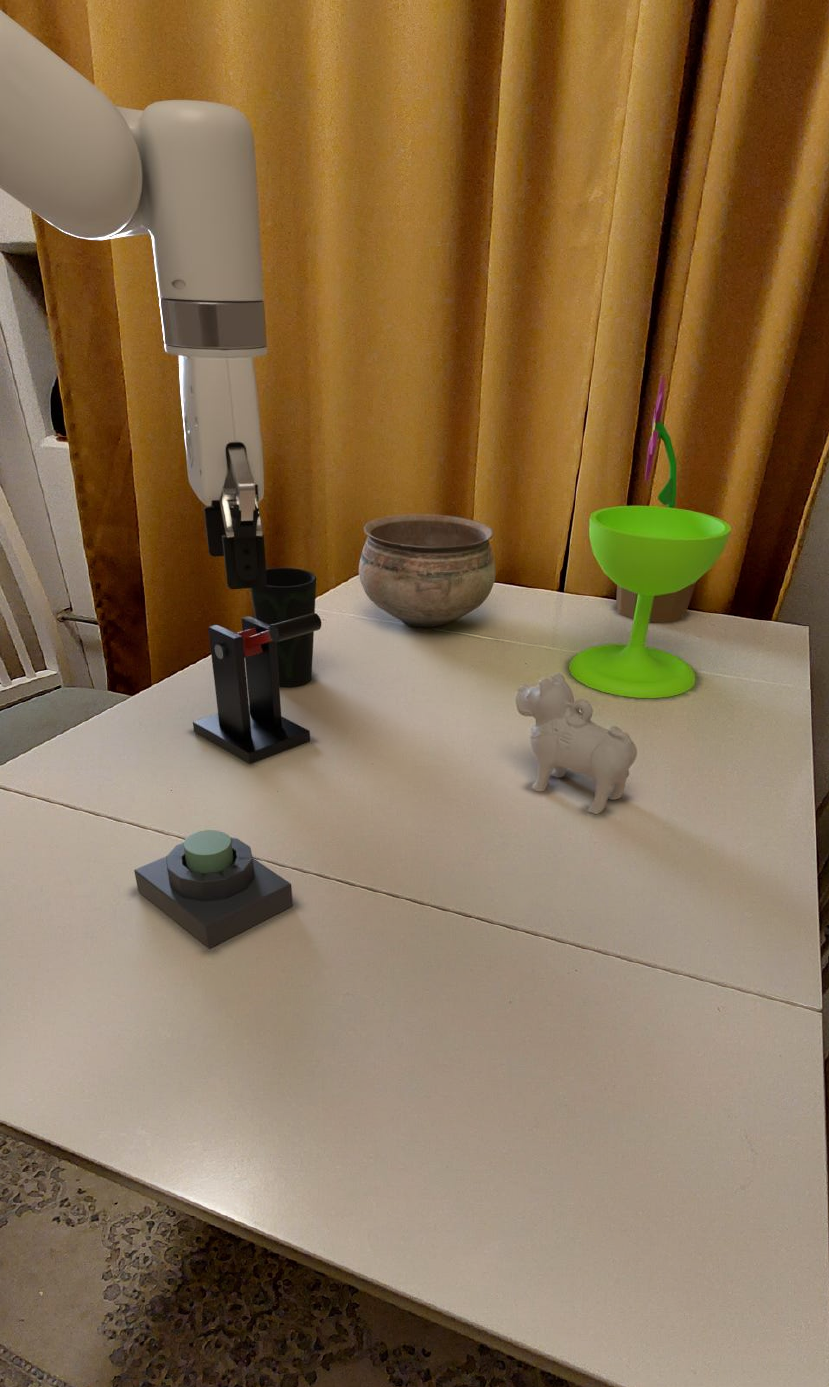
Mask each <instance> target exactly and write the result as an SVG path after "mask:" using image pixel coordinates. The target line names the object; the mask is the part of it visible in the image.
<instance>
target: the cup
mask: <svg viewBox="0 0 829 1387" xmlns="http://www.w3.org/2000/svg"><path fill="white" fill-rule="evenodd" d="M266 574H267V584H266V586H265V587H259V588H249V590H250V596H251V602H252V607H253V611H254V612H253V614H254V619H257V620H259V621H261V622H264V623H266V624H268V625H272V624H276V623H279V622H283V621H287V620H290V619H294V618H298V617H301V616H305V615H309V614H312V613H316V596H317V595H316V594H317V593H316V592H317V576H316V574H314V573H313V572H311V571H310V570H306V569H302V568H295V567H271V568H270V567H269V568H266ZM314 633H315V631H313V632H310V633H307V634H303V635H300V636H296V637H293V638H289V639H286V640H282V641H279V642H276V644H277V659H278V674H279V688H297V687H301V686H304V685H307V684H309V683H310V682H311V681H312V678H313V677H312V676H313V657H314V656H313V655H314V636H315V634H314Z"/></svg>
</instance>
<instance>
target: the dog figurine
mask: <svg viewBox="0 0 829 1387" xmlns="http://www.w3.org/2000/svg"><path fill="white" fill-rule="evenodd" d="M550 677H551V680H550V678H548V677H542V678H540V680H538V685H535V686H529V685H526V684H525V685H520V686H518V688H517V689H516V694H515V705H516V710H517V712H518V713H519V715H521V716H523V717H530V718H531V717H532V718H534V719H535V723H534V724H535V725H533V726H532V727H531V731H530V735H529V737H530V745H531V749H532V751H533V754H534V756H535V758H536V761H537V776H536V780H535V782H534V783H533V784H532V785H531V789H532V790H533V791H535V792H544V791H545V790H546V789H547V787H548V785H550V784H549V779H550V777H551V776H553V777H555V778H557V779H559V778H563V777H564V776H565V775H566V770H567V769H568V770H571V771H574V772H576V773H580V774H583V775H586V776H588V777H590V778H591V779H593V780H595V793H594V798H593V802H592V803H591V805H590V806H589V808H588V812H589V813H591V814H595V815H599V814H601V813H602V812H603V811H604V809H605V808H606V805H607V802H608V800H613V801H614V800H619V799H621V798H622V796H623V792H624V789H625V785H626V781H627V779H628V778H629V776H630V768H631V767H632V765H633V764H634V763H635V761H636V759H637V755H638V749H637V746H636V744H635V743H634V741H633V740H632V737H631V736H630V734H628V733H627V732H624V731H623V730H622V729H621V728H620V727H618V726H616V725H613V726H611V727H610V728H606V727H603V726H601V725H599V724H597V723H596V722H593V721H592V720H591V719H592V717H593V712H594V709H593V706H592V704H591V703H590V702H589V701H588V700H585V699H577V700H575V697H574V693H573V690H572V689H571V686H570V685H569V684H568V683H567V681H566V679H565V676H564V675H563V674H562V673H560V672H556V673H553V674H551V676H550Z"/></svg>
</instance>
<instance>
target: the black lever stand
mask: <svg viewBox="0 0 829 1387" xmlns="http://www.w3.org/2000/svg"><path fill="white" fill-rule="evenodd" d="M269 627H270V625H268V624H266V623H264V622H261V621H259V620H257V619H255V617H252V616H245V617H241V630H242V631H246V630H249V629H253V628H255V629H256V632H257V634H259V633H262V632H265V631H268V630H269ZM207 629H208V637H209V638H208V639H209V647H210V656H211V662H212V663H211V664H212V674H213V681H214V689H215V698H216V707H217V708H216V709H217V713H215V714H212V715H208V716H206V717H203V718H200V719H197V720H194V721H192V726H193V728H192V729H193V732H194V733H195V734H197V735H199V736H200V737H202V738H204V739H206V740H207V741H209V742H211V743H212V744H215V745H216V746H217V747H219V748H221V749H223V750H225V751H226V752H228V753H230V754H232V755H233V756H235V757H237V758H239V759H241V760H242V761H244V762H246V763H247V764H253V763H255V762H259V761H261V760H263V759H266V758H269V757H271V756H274V755H277V754H279V753H282V752H285V751H288V750H290V749H292V748H296V747H298V746H300V745H303V744H305V743H308V742H311V731H310V729H307V728H306V727H303V726H301V725H299V724H297V723H296V722H294V721H291V720H289V719H287V718H286V717H284V716H282V704H281V690H280V689H281V688H280V687H279V674H278V659H277V644H276V642H274V641H271V642H268V643H265V644H262V645H261V647H262V650H263V652H262V653H258V654H255V655H252V656H249V657H245V658H244V647H243V637H242V636H240V635H238V634H236V633H237V632H234V631H231V630H229V629H227V628H225V627H222V626H220V625H218V624H214V625H209V626H208V628H207ZM242 631H241V632H242Z"/></svg>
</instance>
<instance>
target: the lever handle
mask: <svg viewBox="0 0 829 1387" xmlns="http://www.w3.org/2000/svg"><path fill="white" fill-rule="evenodd" d="M320 629H322V619H321V617H320V616H319V614H318V613H316V612H315V613H312V614H309V615H305V616H301V617H298V618H294V619H290V620H287V621H283V622H279V623H276V624H272V625H270V627H269V630H268V631H265V632H262V633H259V634H257V632H256V629H255V628H253V629H249V630H246V631H239V632H235V633H236V634H238V635H240V636H242V637H243V647H244V658H245V657H249V656H252V655H255V654H258V653H262V652H263V650H262V647H261V645H262V644H265V643H268V642H271V641H274V642H279V641H282V640H286V639H289V638H293V637H296V636H300V635H303V634H307V633H310V632H313V631H314V632H317V631H319V630H320Z"/></svg>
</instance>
